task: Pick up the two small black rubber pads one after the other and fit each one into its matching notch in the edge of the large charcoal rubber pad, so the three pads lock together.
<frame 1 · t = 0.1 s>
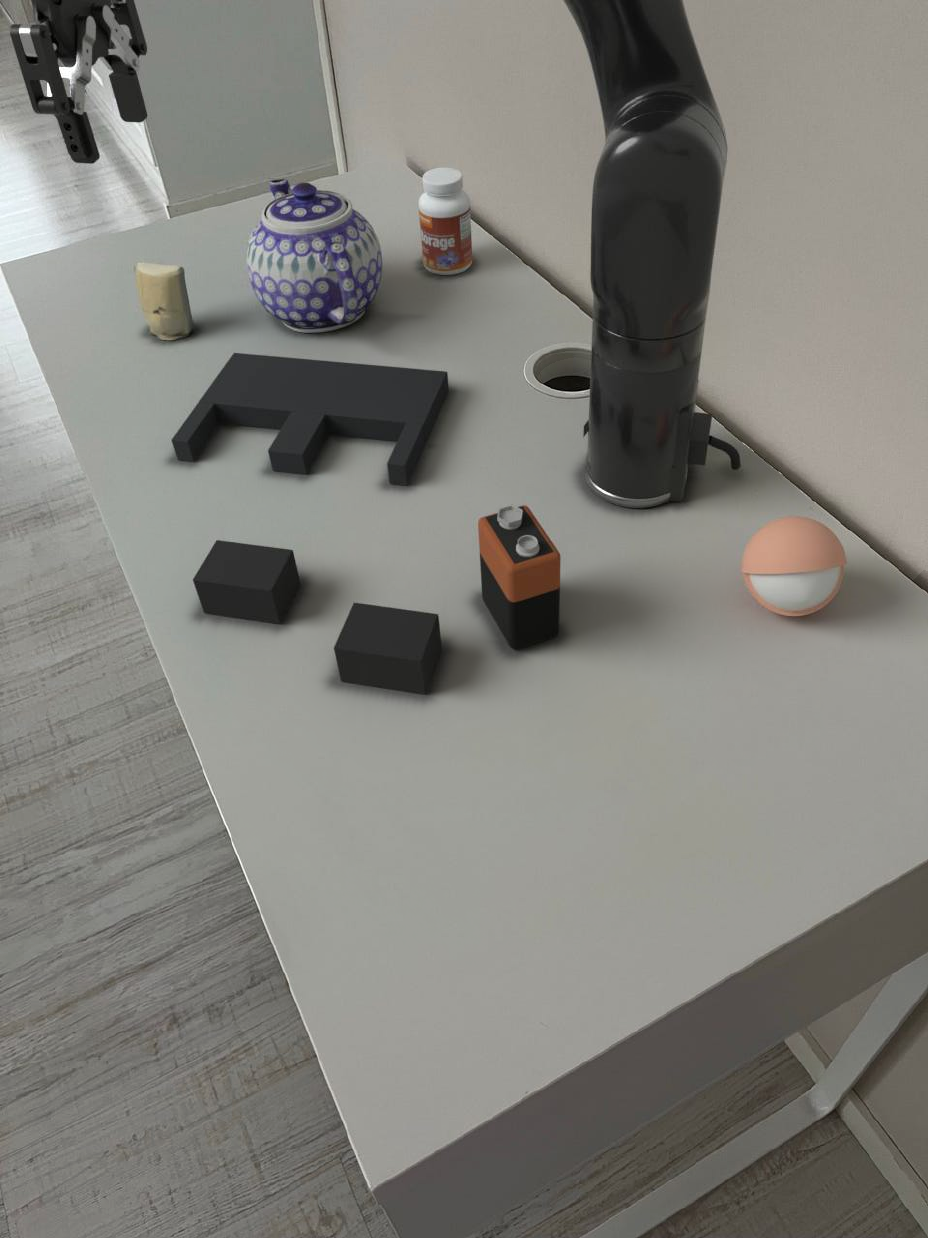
hand: (112, 140, 84), 29 cm above the table, tool pointing down, fingers open, 8 cm apart
pad 2: (392, 664, 82), on the table
battery: (520, 619, 85), on the table
pill bottle: (448, 266, 127), on the table
teapot: (323, 312, 121), on the table
beige upright cylinder: (175, 332, 120), on the table
toy ball: (784, 602, 84), on the table
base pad: (316, 425, 105), on the table
pad 1: (253, 598, 88), on the table
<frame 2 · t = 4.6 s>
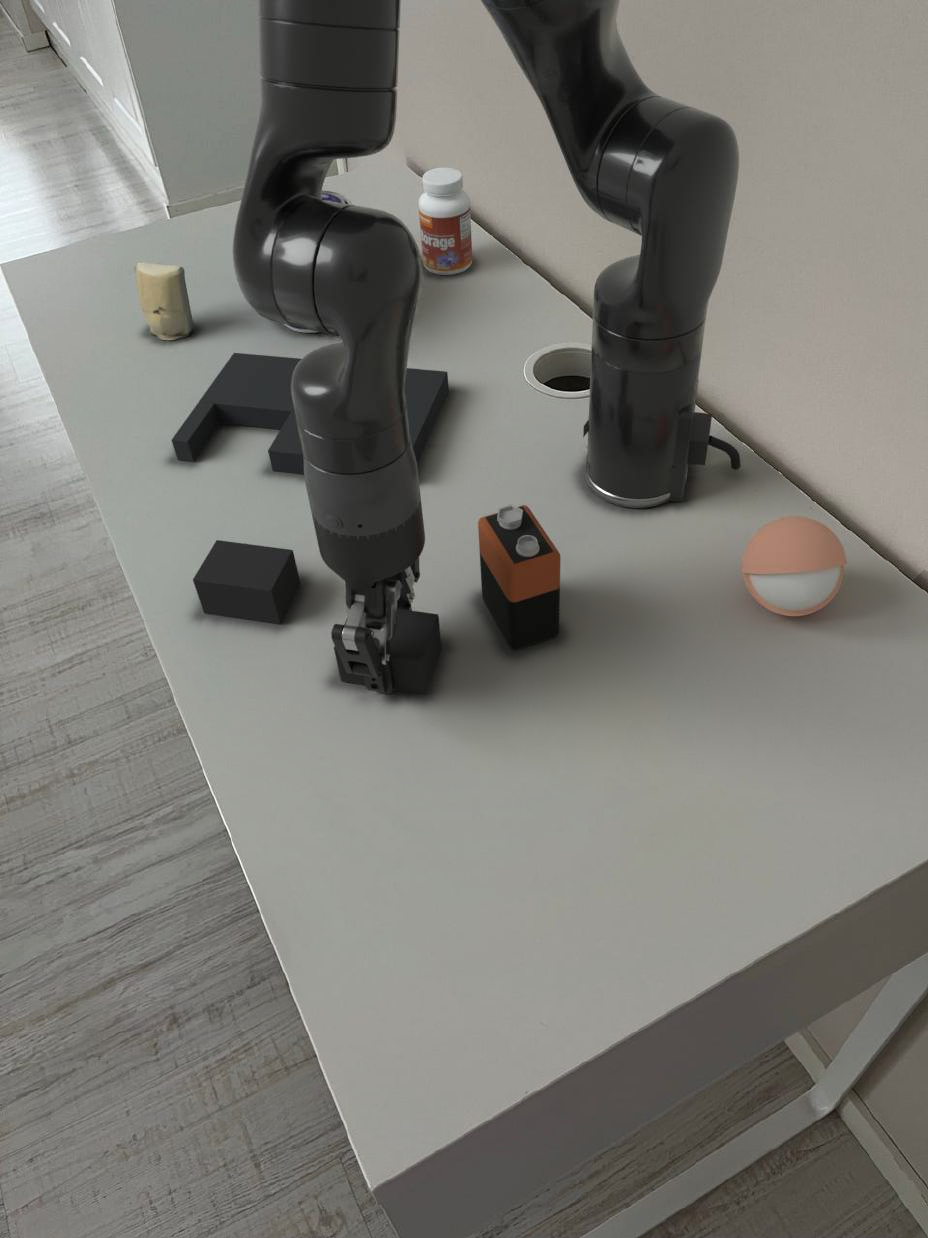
hand: (391, 661, 82), 0 cm above the table, tool pointing down, fingers closed on pad 2, 5 cm apart
pad 2: (392, 664, 82), on the table, touching gripper
everything else where it was.
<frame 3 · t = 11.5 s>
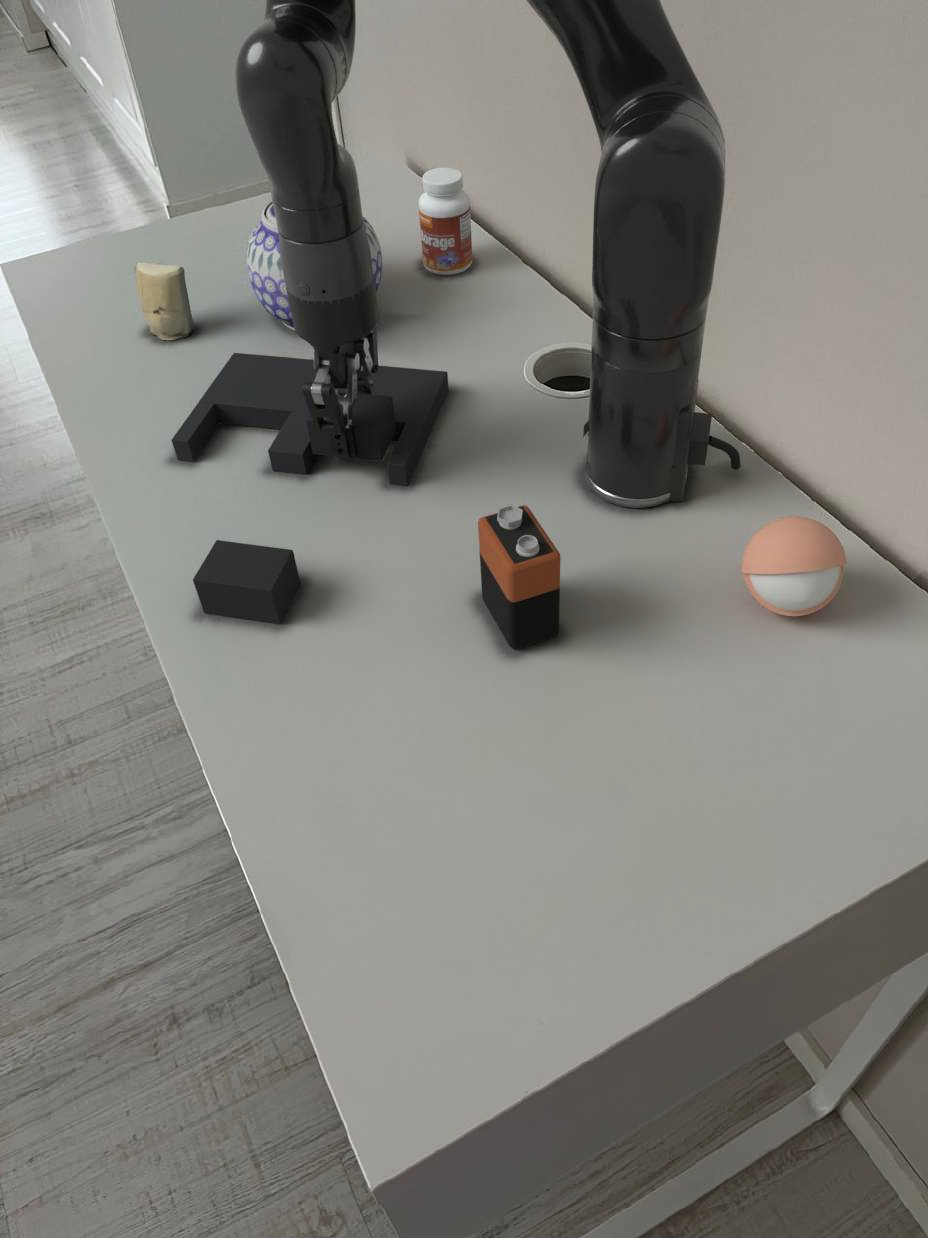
hand: (355, 438, 99), 2 cm above the table, tool pointing down, fingers closed on pad 2, 5 cm apart
pad 2: (355, 442, 99), point 2 cm above the table, touching gripper
everything else where it was.
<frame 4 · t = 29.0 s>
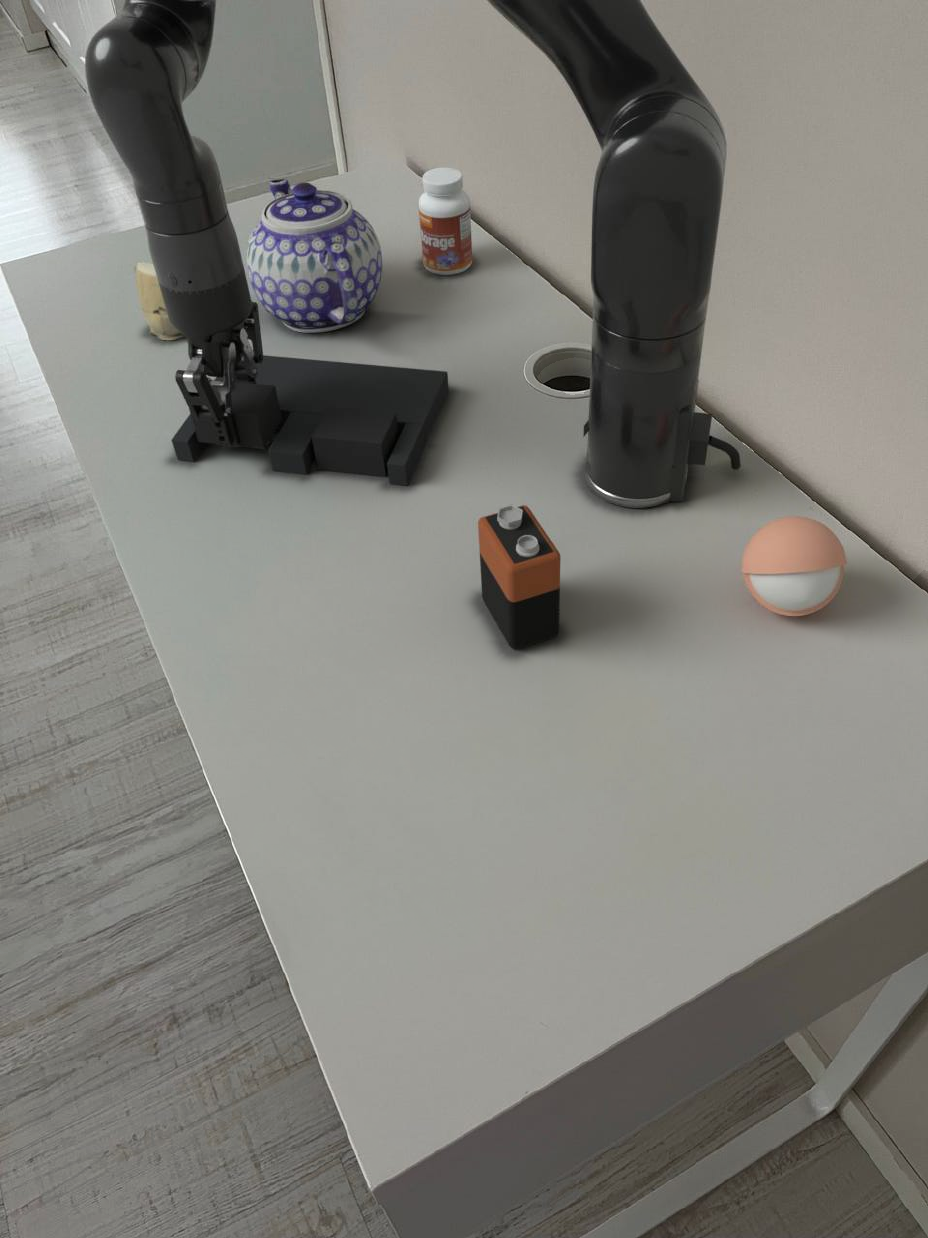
hand: (240, 426, 102), 2 cm above the table, tool pointing down, fingers closed on pad 1, 5 cm apart
pad 2: (359, 457, 101), on the table
pad 1: (241, 430, 102), point 2 cm above the table, touching gripper
everything else where it was.
when the fingers open (3 cm above the table, at t = 34.9 s): pad 1 drops 2 cm, on the table.
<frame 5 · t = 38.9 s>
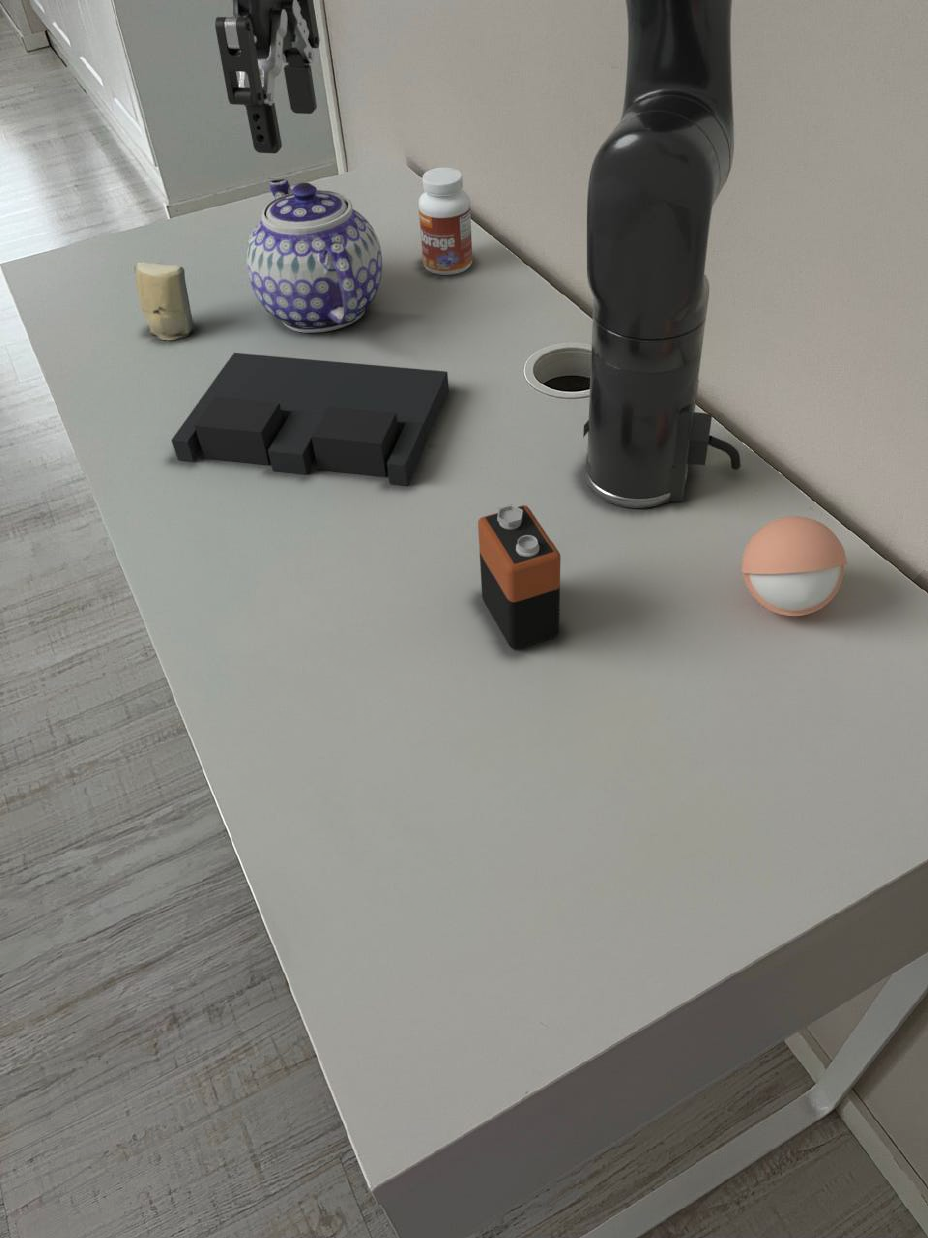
hand: (287, 130, 87), 28 cm above the table, tool pointing down, fingers open, 8 cm apart
pad 1: (245, 446, 103), on the table
everything else where it was.
at the end: pad 2 0.3 cm from the target spot on the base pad, point 0.0 cm above the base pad's base; pad 1 0.1 cm from the target spot on the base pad, point 0.0 cm above the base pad's base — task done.
